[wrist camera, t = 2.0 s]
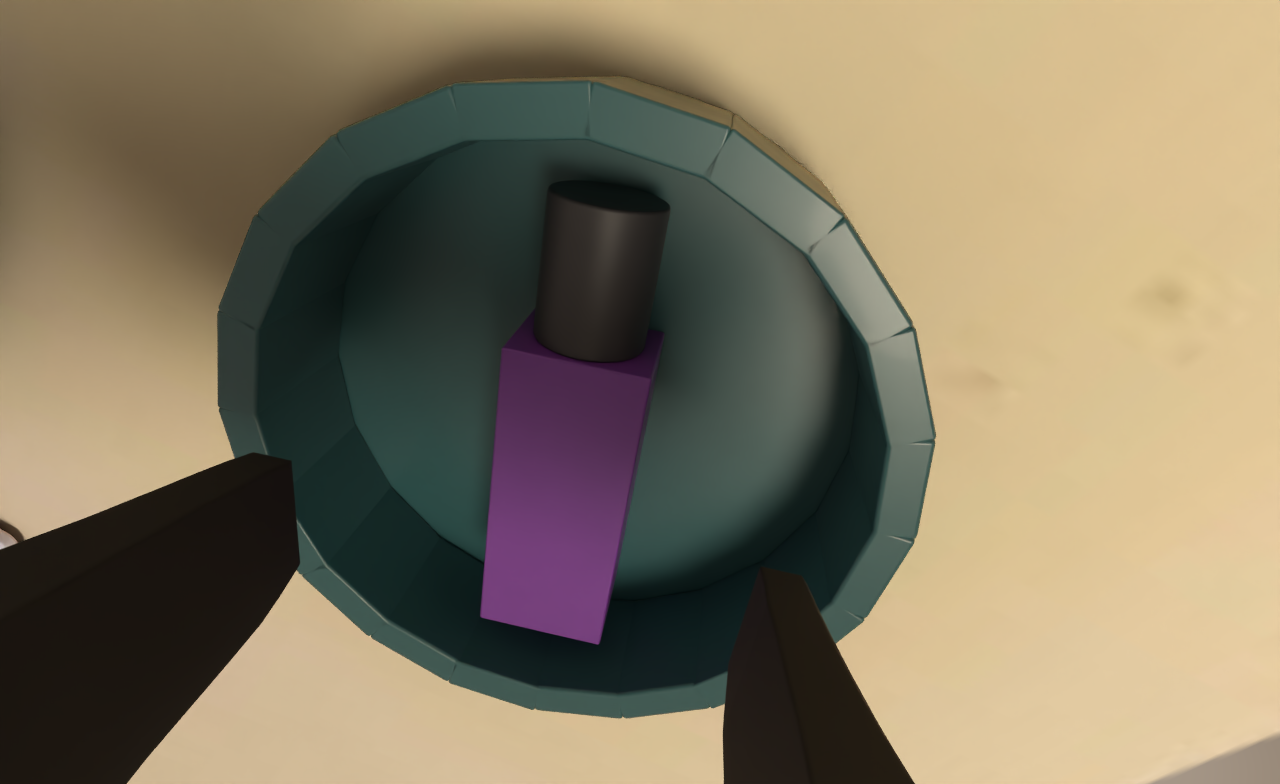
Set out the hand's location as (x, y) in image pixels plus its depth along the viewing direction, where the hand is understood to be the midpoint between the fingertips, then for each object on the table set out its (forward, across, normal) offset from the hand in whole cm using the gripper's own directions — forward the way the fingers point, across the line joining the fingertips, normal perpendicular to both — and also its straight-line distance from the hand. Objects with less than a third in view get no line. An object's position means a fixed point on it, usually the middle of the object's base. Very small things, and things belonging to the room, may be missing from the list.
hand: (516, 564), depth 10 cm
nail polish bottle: (+6, 0, 0) cm, 6 cm away
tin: (+6, 0, 0) cm, 6 cm away
